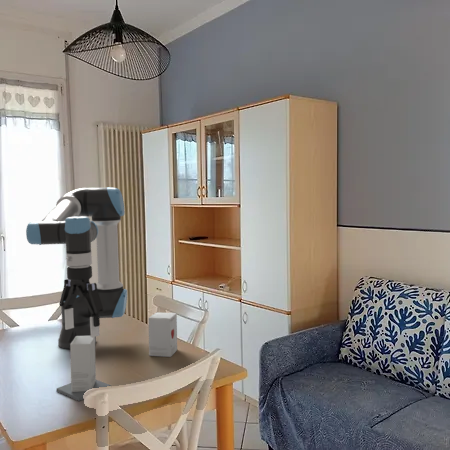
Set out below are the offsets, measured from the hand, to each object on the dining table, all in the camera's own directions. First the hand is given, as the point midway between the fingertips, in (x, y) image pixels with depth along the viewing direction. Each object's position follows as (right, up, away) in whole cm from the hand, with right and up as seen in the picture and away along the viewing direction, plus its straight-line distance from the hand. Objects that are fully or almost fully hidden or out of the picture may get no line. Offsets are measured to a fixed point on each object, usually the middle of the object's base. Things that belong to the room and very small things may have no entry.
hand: (82, 332), depth 153 cm
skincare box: (+1, -18, +1) cm, 18 cm away
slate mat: (0, -19, +1) cm, 19 cm away
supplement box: (+21, -16, +35) cm, 44 cm away
